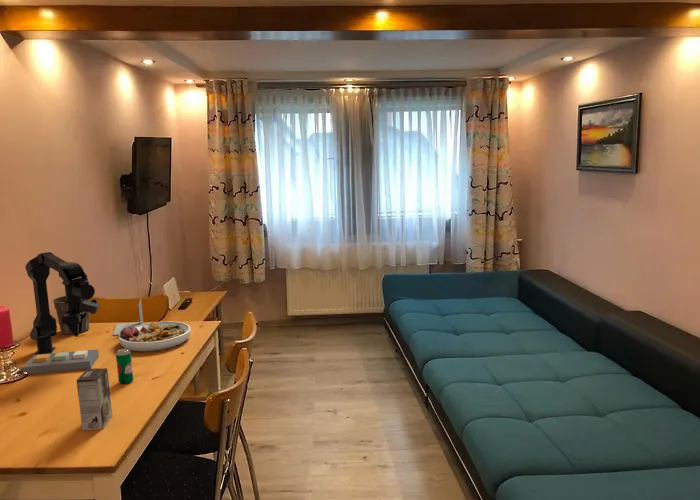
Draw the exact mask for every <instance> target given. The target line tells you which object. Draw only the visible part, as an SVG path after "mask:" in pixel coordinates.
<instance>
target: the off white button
mask: <svg viewBox="0 0 700 500" xmlns="http://www.w3.org/2000/svg"><path fill="white" fill-rule="evenodd" d="M88 350H89V349H86V351H84V350H75V351H76V352H75V353H74V354H73V359H79V358H86V357H87V356H88Z"/></svg>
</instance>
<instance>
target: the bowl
mask: <svg viewBox="0 0 700 500" xmlns="http://www.w3.org/2000/svg"><path fill="white" fill-rule="evenodd" d="M191 330H192V329H191V326H190V325H189V324H187V323H184V322H181V321H154V322H148V323H147V322H146V323H143V324H142V325H138V326H130V327H128V328H124V329H123V330H122V331H121V332H120V334H119V335H118V341H119V343H120V345H121V346H122V347H123V348H124V349H129V351H134V352H154V351H156V350H157V351H161V350H162V349H163V350H167V349H166V348H168V349H171V348H174V347H177V346H179V345H181V344H182V343H185V341H187V340H188V338H189V337H190V335H191ZM176 345H177V346H176ZM157 351H156V352H157Z"/></svg>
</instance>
